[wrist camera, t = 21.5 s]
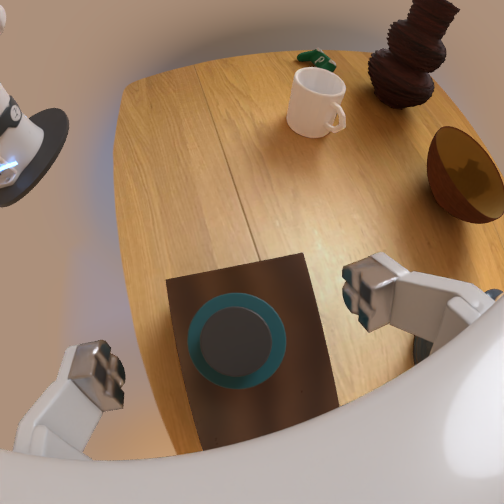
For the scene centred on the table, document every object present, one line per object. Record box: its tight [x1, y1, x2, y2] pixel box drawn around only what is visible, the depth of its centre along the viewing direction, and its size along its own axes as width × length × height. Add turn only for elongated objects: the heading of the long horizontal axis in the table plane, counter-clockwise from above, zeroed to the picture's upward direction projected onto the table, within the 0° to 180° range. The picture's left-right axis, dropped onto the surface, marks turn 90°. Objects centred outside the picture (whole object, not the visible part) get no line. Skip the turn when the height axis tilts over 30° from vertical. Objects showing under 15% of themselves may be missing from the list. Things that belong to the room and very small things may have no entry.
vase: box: [368, 0, 460, 110], centre depth 34 cm, size 15×15×30 cm
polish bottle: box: [187, 293, 286, 389], centre depth 18 cm, size 5×5×14 cm
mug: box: [286, 67, 346, 138], centre depth 38 cm, size 8×12×10 cm, turn 23°
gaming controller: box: [297, 48, 336, 72], centre depth 48 cm, size 9×4×6 cm
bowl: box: [427, 126, 504, 224], centre depth 35 cm, size 18×18×10 cm
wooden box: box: [166, 253, 339, 451], centre depth 27 cm, size 14×20×8 cm
